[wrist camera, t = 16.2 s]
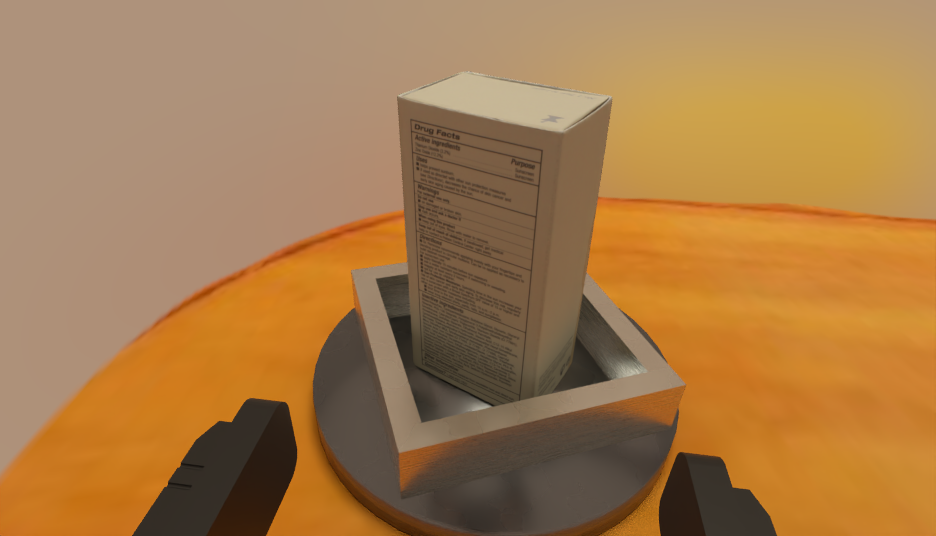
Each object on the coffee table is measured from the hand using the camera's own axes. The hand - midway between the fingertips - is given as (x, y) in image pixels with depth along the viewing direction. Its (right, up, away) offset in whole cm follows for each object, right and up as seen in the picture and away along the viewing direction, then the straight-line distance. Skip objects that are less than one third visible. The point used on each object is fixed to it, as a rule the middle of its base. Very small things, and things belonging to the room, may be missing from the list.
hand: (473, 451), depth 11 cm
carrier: (+1, -2, +14) cm, 14 cm away
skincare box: (+1, -1, +14) cm, 14 cm away
